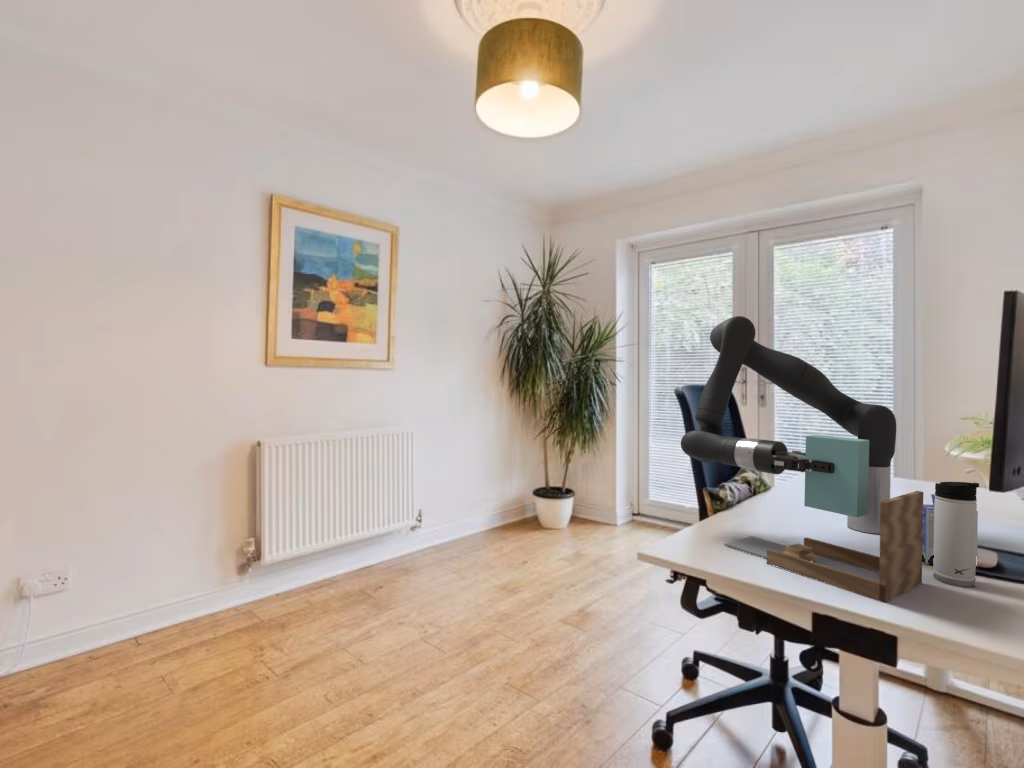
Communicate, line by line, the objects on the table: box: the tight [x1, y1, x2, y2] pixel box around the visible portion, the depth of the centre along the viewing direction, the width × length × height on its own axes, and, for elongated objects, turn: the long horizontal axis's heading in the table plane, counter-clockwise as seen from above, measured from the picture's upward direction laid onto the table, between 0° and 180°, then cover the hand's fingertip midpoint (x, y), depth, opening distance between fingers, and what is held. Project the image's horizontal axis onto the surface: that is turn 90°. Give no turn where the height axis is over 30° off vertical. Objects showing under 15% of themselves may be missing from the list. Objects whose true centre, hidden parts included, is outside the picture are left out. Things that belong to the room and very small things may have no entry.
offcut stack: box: [783, 543, 817, 562], centre depth 111 cm, size 6×4×3 cm, turn 116°
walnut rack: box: [766, 490, 924, 603], centre depth 103 cm, size 16×22×18 cm
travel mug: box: [932, 481, 980, 588], centre depth 99 cm, size 6×7×20 cm
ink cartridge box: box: [922, 493, 979, 563], centre depth 109 cm, size 10×6×14 cm, turn 78°
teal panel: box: [804, 434, 869, 518], centre depth 104 cm, size 5×10×15 cm, turn 33°
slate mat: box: [724, 535, 787, 560], centre depth 117 cm, size 11×12×1 cm
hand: (839, 467), depth 103 cm, fingers closed on teal panel, 4 cm apart
